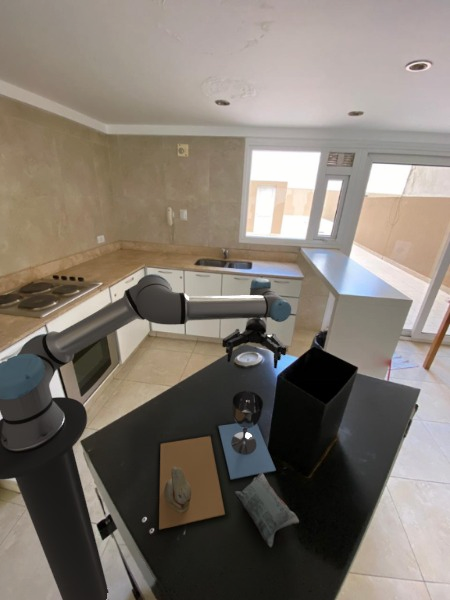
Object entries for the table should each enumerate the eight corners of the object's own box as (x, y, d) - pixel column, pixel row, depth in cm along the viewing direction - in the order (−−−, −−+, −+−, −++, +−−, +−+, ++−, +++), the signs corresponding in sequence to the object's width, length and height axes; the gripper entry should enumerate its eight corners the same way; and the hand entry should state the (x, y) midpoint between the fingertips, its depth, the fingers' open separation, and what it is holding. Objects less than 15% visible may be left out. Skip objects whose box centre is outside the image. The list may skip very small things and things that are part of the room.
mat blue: (218, 426, 77) (218, 426, 77) (255, 421, 79) (255, 420, 79) (230, 479, 62) (230, 479, 62) (275, 470, 65) (276, 470, 65)
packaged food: (261, 478, 63) (263, 464, 61) (298, 526, 54) (301, 512, 52) (233, 498, 58) (234, 484, 57) (267, 555, 49) (270, 541, 47)
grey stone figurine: (166, 522, 53) (164, 491, 50) (163, 484, 60) (161, 455, 57) (192, 514, 55) (192, 483, 51) (187, 478, 62) (186, 449, 58)
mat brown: (160, 444, 70) (160, 443, 70) (210, 436, 73) (210, 435, 73) (159, 529, 52) (158, 528, 52) (224, 514, 55) (224, 513, 55)
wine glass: (237, 460, 67) (240, 417, 61) (225, 435, 74) (227, 395, 68) (263, 450, 70) (268, 408, 64) (249, 427, 76) (253, 388, 71)
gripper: (289, 341, 92) (294, 378, 73) (222, 332, 96) (209, 365, 76) (292, 322, 89) (298, 355, 70) (223, 314, 93) (210, 344, 73)
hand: (252, 361), depth 73 cm, fingers open, 13 cm apart
